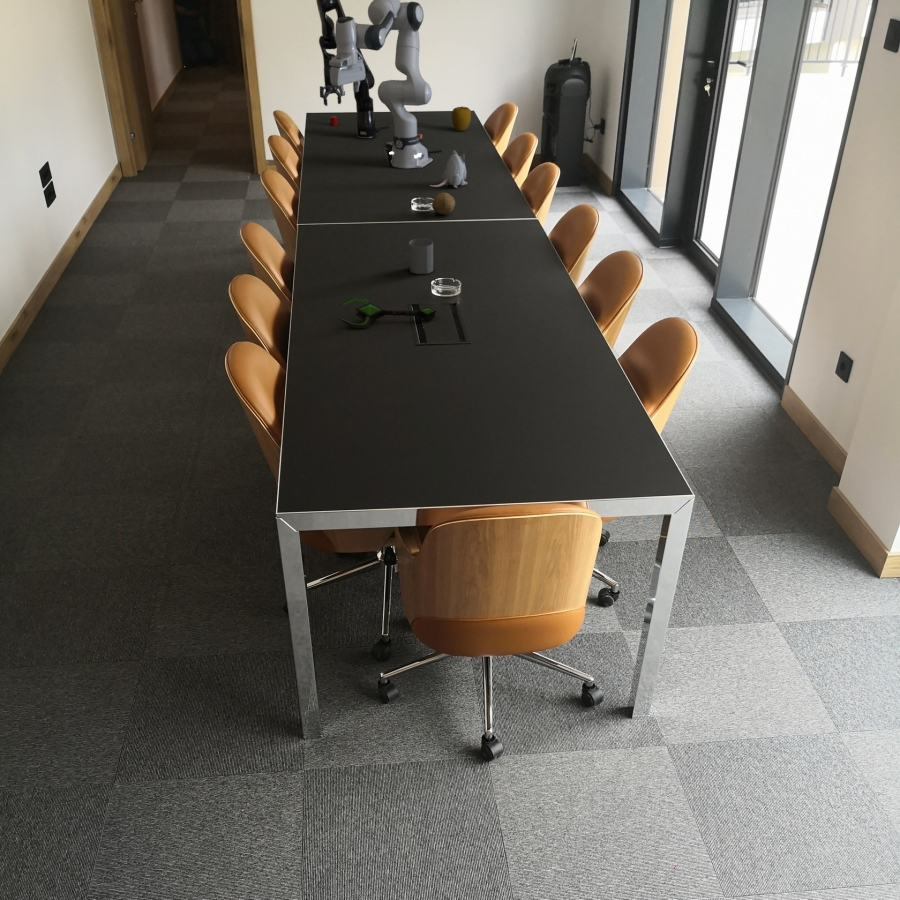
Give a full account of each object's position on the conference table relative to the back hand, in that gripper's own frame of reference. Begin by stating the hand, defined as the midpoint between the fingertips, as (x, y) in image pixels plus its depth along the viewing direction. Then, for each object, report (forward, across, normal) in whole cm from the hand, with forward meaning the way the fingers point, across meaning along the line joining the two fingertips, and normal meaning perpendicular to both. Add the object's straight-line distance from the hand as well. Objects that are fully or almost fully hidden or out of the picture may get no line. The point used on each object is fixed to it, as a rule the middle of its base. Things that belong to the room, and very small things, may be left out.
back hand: (332, 104), depth 497 cm
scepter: (+10, +118, +253) cm, 279 cm away
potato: (+11, +42, +174) cm, 179 cm away
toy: (+11, +20, +144) cm, 146 cm away
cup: (+10, +86, +222) cm, 239 cm away
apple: (+11, -52, +54) cm, 76 cm away
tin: (+11, 0, 0) cm, 11 cm away
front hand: (-29, +52, +115) cm, 129 cm away
